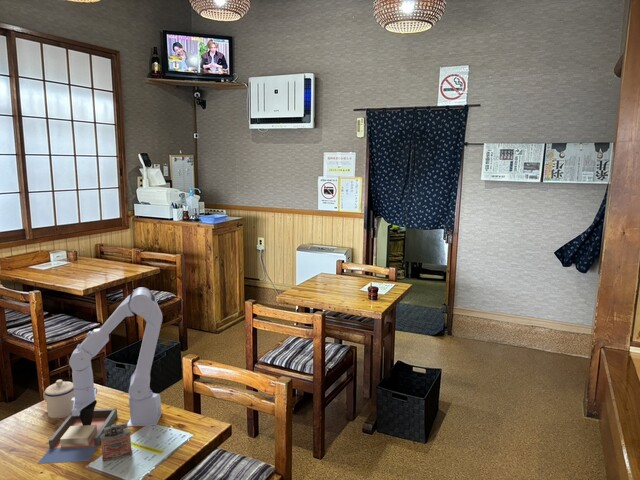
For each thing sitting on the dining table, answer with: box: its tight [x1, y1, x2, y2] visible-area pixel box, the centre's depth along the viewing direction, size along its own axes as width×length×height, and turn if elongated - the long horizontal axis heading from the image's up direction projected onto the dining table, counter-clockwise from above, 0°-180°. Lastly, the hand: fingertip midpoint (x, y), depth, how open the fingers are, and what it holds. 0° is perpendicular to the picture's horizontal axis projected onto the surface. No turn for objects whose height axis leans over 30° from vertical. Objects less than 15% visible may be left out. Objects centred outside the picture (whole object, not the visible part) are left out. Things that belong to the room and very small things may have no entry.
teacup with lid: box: [42, 379, 74, 419], centre depth 161 cm, size 12×9×12 cm
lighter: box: [100, 422, 133, 462], centre depth 137 cm, size 8×3×10 cm, turn 113°
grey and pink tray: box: [48, 408, 118, 449], centre depth 150 cm, size 14×17×3 cm
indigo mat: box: [37, 446, 99, 465], centre depth 138 cm, size 14×7×1 cm, turn 95°
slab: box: [60, 425, 97, 447], centre depth 146 cm, size 8×7×2 cm
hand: (87, 424), depth 152 cm, fingers closed
